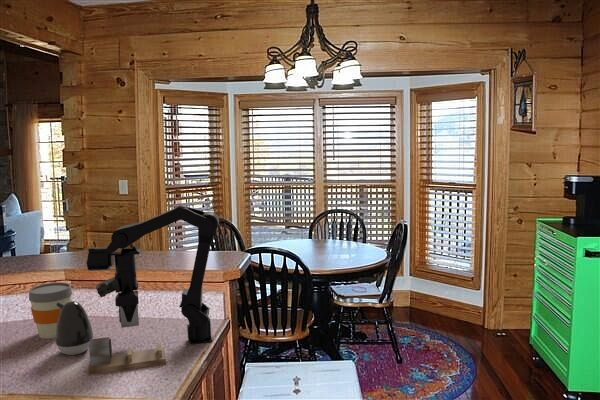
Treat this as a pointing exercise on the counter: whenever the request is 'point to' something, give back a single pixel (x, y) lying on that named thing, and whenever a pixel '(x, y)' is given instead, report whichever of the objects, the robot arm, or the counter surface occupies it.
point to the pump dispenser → (73, 329)
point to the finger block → (124, 322)
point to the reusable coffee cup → (48, 306)
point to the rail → (121, 357)
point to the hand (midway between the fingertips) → (129, 319)
